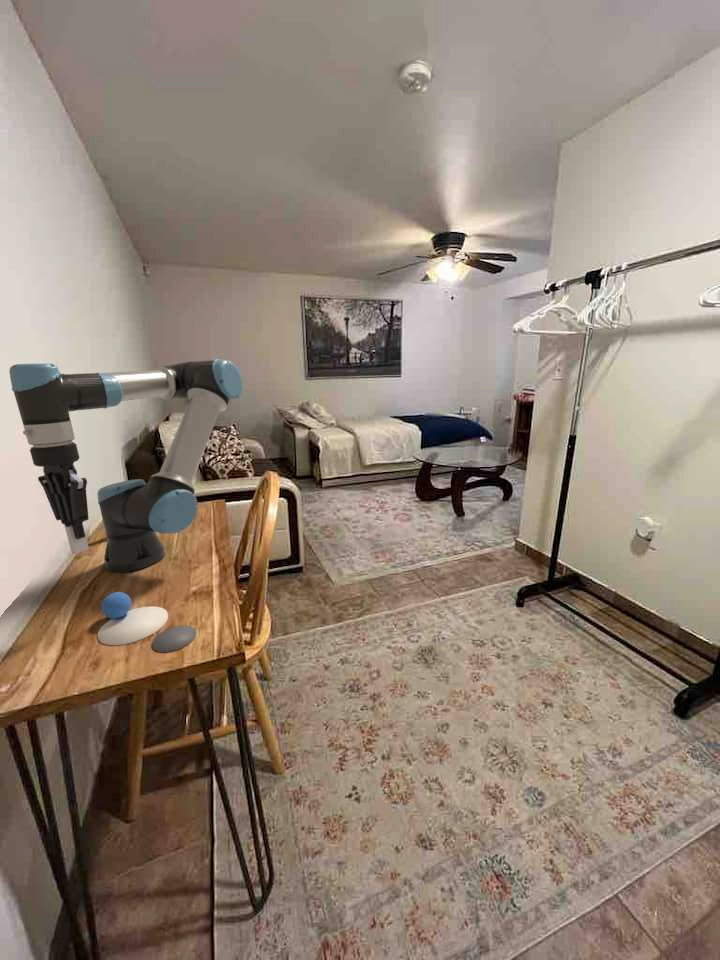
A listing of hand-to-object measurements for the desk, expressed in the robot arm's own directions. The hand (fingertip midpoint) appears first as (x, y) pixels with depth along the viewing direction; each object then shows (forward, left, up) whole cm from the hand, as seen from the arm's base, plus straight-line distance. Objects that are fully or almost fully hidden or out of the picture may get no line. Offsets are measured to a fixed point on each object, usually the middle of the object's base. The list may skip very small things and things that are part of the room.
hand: (80, 551), depth 85 cm
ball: (+3, +7, -12) cm, 14 cm away
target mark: (+7, +12, -15) cm, 20 cm away
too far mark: (+12, +23, -15) cm, 30 cm away
